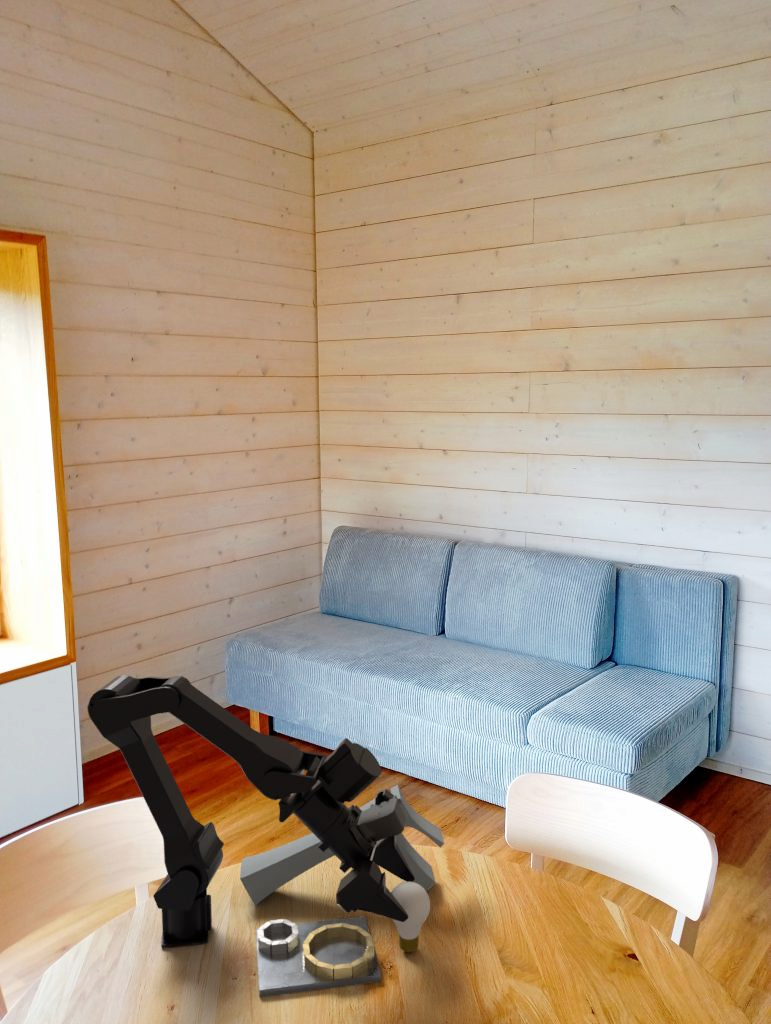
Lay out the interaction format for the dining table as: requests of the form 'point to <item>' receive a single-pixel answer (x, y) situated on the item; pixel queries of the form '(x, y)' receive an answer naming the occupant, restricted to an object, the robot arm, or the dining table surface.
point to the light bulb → (411, 913)
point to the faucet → (304, 853)
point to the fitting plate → (314, 955)
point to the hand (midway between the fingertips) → (409, 899)
